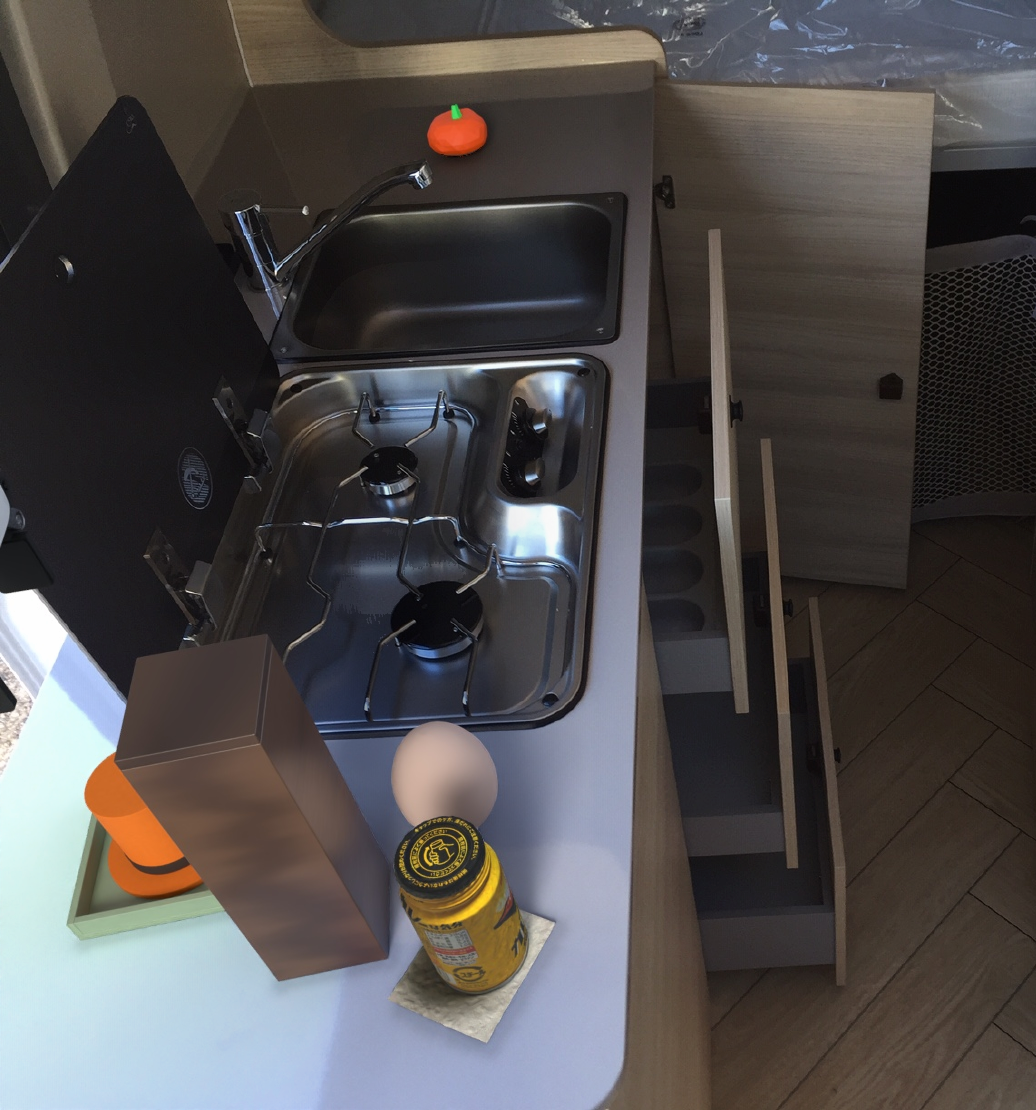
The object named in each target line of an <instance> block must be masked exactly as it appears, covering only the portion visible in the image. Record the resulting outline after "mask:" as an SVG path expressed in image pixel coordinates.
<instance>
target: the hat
mask: <svg viewBox="0 0 1036 1110" xmlns="http://www.w3.org/2000/svg"><path fill="white" fill-rule="evenodd" d="M115 754H116V751H115V752H112V753H110V755H108V756H107V757H106V758H104V759H102V761H101V762H100V763H99V764H98V765H97V766H96V767H95V768H94V770H93V771H92V772H91V774H90V775H89V776H88V779H87V781H86V783H85V787H84V791H83V792H84V793H83V797H84V802H85V805H86V807H87V808H88V810H89V811H90V812H91V814H92V813H93V815H94V816H95V817H96V818H97V820H98V821H99V822H100V823H101V824H102V826H103V827H104V828H105V829H106V831H107V832H108V833H109V834H110V836H111V837H112V838H113V839H112V841H111V844H110V848H109V852H108V866H109V871H110V873H111V875H112V878H113V879H114V880H115V882H116V883H117V884H118V885H119V886H120V887H121V888H122V889H123V890H124V891H125V892H127V893H129V894H131V895H133V896H136V897H140V898H144V899H163V898H169V897H173V896H177V895H180V894H182V893H185V892H188V891H190V890H192V889H194V888H196V887H198V886H199V885H201V884H202V883H204V882H203V880H202V879H201V878H200V876H199V875H198V874H197V872H196V871H195V870H194V868H193V867H192V866H191V864H190V863H189V862H188V860H187V859H186V858H185V856H184V855H183V854H182V852H181V851H180V850H179V848H178V847H177V846H176V844H175V843H174V842H173V840H172V839H171V838H170V836H169V835H168V834H167V832H166V831H165V830H164V828H163V827H162V826H161V824H160V823H159V822H158V820H157V819H156V818H155V816H154V815H153V814H152V812H151V811H150V810H149V808H148V807H147V806H146V804H145V803H144V802H143V800H142V799H141V798H140V796H139V795H138V794H137V792H136V791H135V790H134V788H133V787H132V786H131V784H130V783H129V782H128V780H127V779H126V778H125V776H124V775H123V774H122V772H121V770H120V769H119V768H118V767H117V765H116V764H115V763H114V758H115Z"/></svg>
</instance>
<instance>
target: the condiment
mask: <svg viewBox="0 0 1036 1110" xmlns="http://www.w3.org/2000/svg"><path fill="white" fill-rule="evenodd" d="M392 867H393V870H394V872H393V874H394V878H395V881H396V883H397V884H398V886H399V887H398V896H399V899H400V903H401V907H402V908H403V910H404V913H405V914H406V916H407V918H408V920H409V921H410V923H411V925H412V927H413V929H414V931H415V932H416V935H417V936H418V938H419V940H420V942H421V944H422V946H421V948H420V949H419V950H418V952H417V953H416V956H415V957H414V959H413V960H412V962H411V963H410V965H409V967H408V968H407V970H406V971H405V972H404V974H403V975H402V977H401V978H400V980H399V981H398V983H396V985H395V987H394V988H393V991H392V992H391V994H389V997H388V998H387V1000H388V1001H389V1002H391V1003H394V1004H396V1005H398V1006H400V1007H402V1008H404V1009H407V1010H409V1011H411V1012H413V1013H415V1014H418V1015H420V1016H421V1017H424V1018H426V1019H429V1020H431V1021H433V1022H436V1023H438V1024H441V1025H443V1026H444V1027H446V1028H450V1029H452V1030H455V1031H457V1032H460V1033H461V1034H464V1035H466V1036H467V1037H468V1036H469V1037H471V1038H473V1039H476V1040H477V1041H481V1042H483V1043H485V1044H488V1042H489V1041H490V1038H491V1037H492V1035H493V1033H494V1031H495V1030H496V1028H497V1026H498V1025H499V1024H500V1021H501V1020H502V1017H503V1016H504V1013H506V1011H507V1008H508V1007H509V1006H510V1004H511V1002H512V1000H513V998H514V996H515V995H516V994H517V991H518V990H519V988H520V986H521V985H522V983H523V982H524V981H525V978H526V977H527V975H528V973H529V972H530V970H531V968H532V966H533V965H534V963H535V961H536V960H537V957H538V956H539V954H540V952H541V951H542V949H543V948H544V945H545V943H546V941H547V940H548V939H549V937H550V935H551V933H552V931H553V929H554V927H555V925H556V922H555V921H552V920H549V919H547V918H543V917H541V916H538V915H536V914H532V913H530V912H528V911H525V910H522V909H520V908H519V906H518V903H517V901H516V899H515V896H514V894H513V892H512V889H511V887H510V884H509V882H508V879H507V876H506V875H505V872H504V867H503V866H502V863H501V861H500V859H499V858H498V855H497V853H496V851H495V850H494V849H493V847H492V846H491V845H490V844H488V843H487V842H485V840H484V837H483V835H482V834H481V831H480V830H479V829H478V828H476V827H475V826H474V825H473V824H472V823H470V822H468V821H467V820H464V819H462V818H459V817H455V816H440V817H436V818H433V819H430V820H426V821H423V822H422V823H421V824H419V825H417V826H416V827H413V828H412V829H410V830H409V831H408V832H407V833H406V834H405V835H404V836H403V838H402V839H401V840H400V842H399V844H398V846H397V847H396V850H395V852H394V857H393V866H392Z"/></svg>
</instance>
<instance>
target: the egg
mask: <svg viewBox="0 0 1036 1110" xmlns="http://www.w3.org/2000/svg"><path fill="white" fill-rule="evenodd" d="M390 779H391V780H390V781H391V787H392V794H393V797H394V800H395V802H396V805H397V807H398V809H399V811H400V812H401V814H402V815H403V816H404V818H405V819H406V821H407V822H408V823H409V824H410V825H412V826H413V828H415V827H416V826H417V825H419V824H421V823H422V822H423V821H426V820H430V819H433V818H436V817H440V816H455V817H459V818H462V819H464V820H467V821H468V822H470V823H472V824H473V825H474V826H475V827H476V828H477V829H478V828H480V827H481V826H482V825H483V824H484V822H486V820H487V818H489V817H490V814H491V812H492V810H493V808H494V806H495V803H496V801H497V796H498V788H499V787H498V785H499V784H498V783H499V782H498V775H497V770H496V765H495V762H494V761H493V758H492V756H491V754H490V752H489V751H488V749H487V748H486V747H485V745H484V744H483V742H481V740H480V739H479V738H478V737H477V736H476V735H475V734H473V733H472V732H470V731H469V730H467V729H465V728H464V727H462V726H460V725H458V724H455V723H451V722H448V721H442V720H434V721H428V722H425V723H422V724H420V725H418V726H416V727H414V728H413V729H412V730H410V731H409V732H408V733H407V734H406V735H405V736H404V737H403V739H402V740H401V742H400V743H399V744H398V747H397V748H396V751H395V754H394V756H393V761H392V766H391V775H390Z"/></svg>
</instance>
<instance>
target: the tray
mask: <svg viewBox="0 0 1036 1110" xmlns="http://www.w3.org/2000/svg"><path fill="white" fill-rule="evenodd" d="M86 833H87V834H86V837H85V840H84V841H85V842H84V846H83V850H82V855H81V858H80V863H79V868H78V872H77V876H76V881H75V883H74V884H75V885H74V889H73V894H72V897H71V902H70V907H69V911H68V915H67V919H66V923H65V926H66V927H67V928H68V929H69V930H70V932H72V933H73V934H74V935H75V936H76V938H77V939H78V940H80V941H84V940H90V939H95V938H99V937H104V936H109V935H113V934H114V935H115V934H119V933H124V932H129V931H135V930H138V929H144V928H148V927H154V926H158V925H162V924H168V923H173V922H178V921H182V920H188V919H193V918H196V917H202V916H208V915H213V914H218V913H222V912H226V911H225V910H224V908H223V907H222V906H221V904H220V903H219V902H218V900H217V899H216V898H215V896H214V895H213V894H212V892H211V891H210V890H209V888H208V887H207V886H206V884H205V883H202V884H201V885H199V886H198V887H196V888H194V889H192V890H190V891H188V892H185V893H182V894H180V895H177V896H173V897H169V898H163V899H144V898H140V897H136V896H133V895H131V894H129V893H127V892H125V891H124V890H123V889H122V888H121V887H120V886H119V885H118V884H117V883H116V882H115V880H114V879H113V878H112V875H111V873H110V871H109V866H108V852H109V848H110V844H111V841H112V839H113V838H112V837H111V836H110V834H109V833H108V832H107V831H106V829H105V828H104V827H103V826H102V824H101V823H100V822H99V821H98V820H97V818H96V817H95V816H94V815H93V813H92V812H91V815H90V820H89V825H88V828H87V832H86Z"/></svg>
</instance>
